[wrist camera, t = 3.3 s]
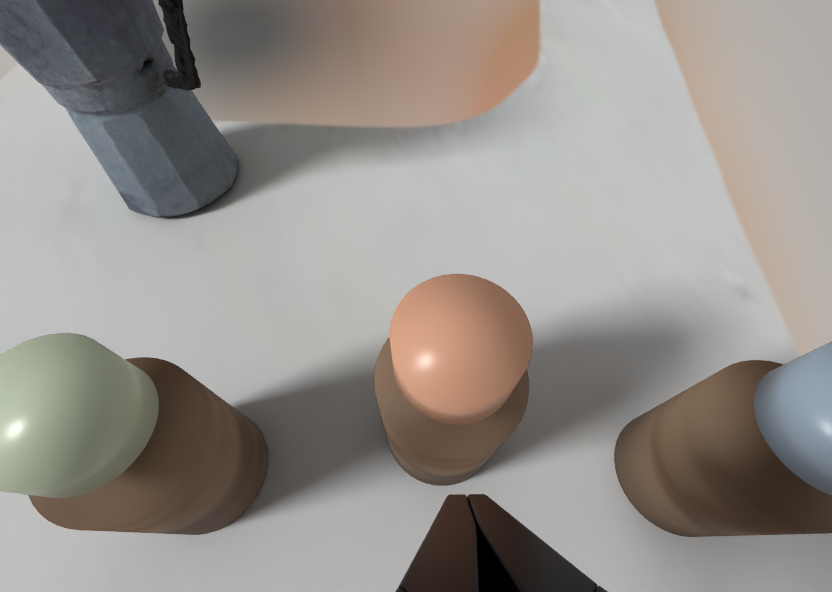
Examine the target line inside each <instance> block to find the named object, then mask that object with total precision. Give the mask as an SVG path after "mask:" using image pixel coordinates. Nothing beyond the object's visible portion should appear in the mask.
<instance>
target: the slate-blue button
mask: <svg viewBox="0 0 832 592" xmlns="http://www.w3.org/2000/svg"><path fill="white" fill-rule="evenodd" d="M754 411H755V416H756V420H757V423H758V426H759V428H760V431H761V433H762V435H763V437H764V438H765V440H766V442H767V444H768V445H769V447H770V448H771V449H772V451H773V452H774V453H775V455H776V456H777V457H778V458H779V459H780V461H781V462H782V463H783V464H784V465H785V466H786V467H787V468H788V469H789V470H791V471H792V472H793V473H794V474H795V475H796V476H798V477H799V478H800V479H802V480H803V481H805V482H806V483H807V484H809V485H811V486H812V487H814V488H816V489H818V490H820V491H822V492H824V493H826V494H828V495H831V496H832V342H830V343H828V344H826V345H824V346H821V347H819V348H817V349H815V350H813V351H811V352H809V353H807V354H805V355H803V356H801V357H799V358H797V359H795V360H792V361H790V362H788V363H786V364H784V365H782V366H780V367H778V368H776V369H774V370H772V371H770V372H769V373H767V374H766V375H765V376H764V377H763V378H762V379H761V380H760V382H759V384H758V386H757V388H756V391H755V396H754Z"/></svg>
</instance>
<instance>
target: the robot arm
mask: <svg viewBox="0 0 832 592" xmlns="http://www.w3.org/2000/svg"><path fill="white" fill-rule="evenodd" d="M396 592H607V591H606V590H605V589H603V588H602V587H601V586H597V584H596V583H595V582H594V581H592V580H591V579H590V578H589V577H587V576H586V575H585V574H584V573H582V572H581V571H580V570H579V569H577V568H576V567H575V566H574V565H572V564H571V563H570V562H569V561H567V560H566V559H565V558H564V557H562V556H561V555H560V554H559V553H557V552H556V551H555V550H554V549H552V548H551V547H550V546H549V545H548V544H546V543H545V542H544V541H543V540H541V539H540V538H539V537H538V536H536V535H535V534H534V533H533V532H531V531H530V530H529V529H528V528H526V527H525V526H524V525H523V524H521V523H520V522H519V521H518V520H516V519H515V518H514V517H513V516H511V515H510V514H509V513H508V512H506V511H505V510H504V509H503V508H501V507H500V506H499V505H498V504H497V503H495V502H494V501H493V500H492V499H490V498H489V497H488V496H486V495H484V494H470V495H468V496H467V497H466V495H448V496H447V498H446V500H445V502H444V504H443V505H442V507H441V509H440V511H439V513H438V515H437V517H436V518H435V520H434V522H433V524H432V526H431V528H430V530H429V531H428V533H427V535H426V537H425V539H424V541H423V543H422V544H421V546H420V548H419V550H418V552H417V554H416V556H415V557H414V559H413V561H412V563H411V565H410V567H409V569H408V570H407V572H406V574H405V576H404V578H403V580H402V582H401V583H400V585H399V587H398V589H397V590H396Z"/></svg>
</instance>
